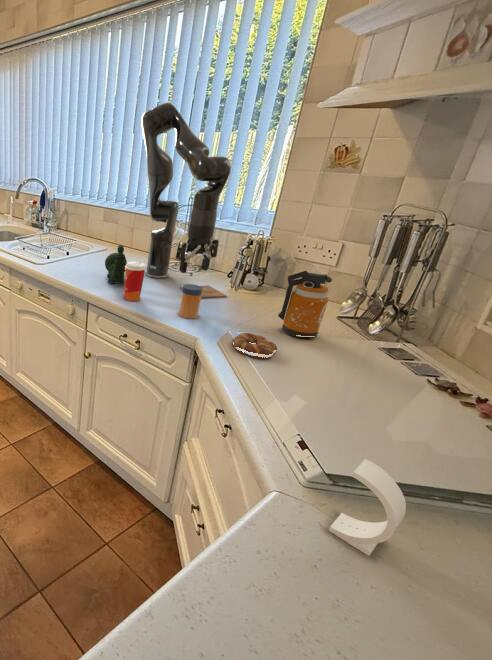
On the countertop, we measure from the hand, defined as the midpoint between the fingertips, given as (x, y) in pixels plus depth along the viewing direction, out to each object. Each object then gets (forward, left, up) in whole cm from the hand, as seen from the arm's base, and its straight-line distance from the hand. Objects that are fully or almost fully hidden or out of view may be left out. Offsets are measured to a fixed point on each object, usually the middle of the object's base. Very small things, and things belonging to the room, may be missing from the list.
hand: (193, 271), depth 132 cm
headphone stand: (+85, -4, -16) cm, 87 cm away
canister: (+13, +29, -16) cm, 35 cm away
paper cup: (-15, -15, -16) cm, 27 cm away
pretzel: (+25, +10, -16) cm, 31 cm away
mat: (-23, +15, -16) cm, 32 cm away
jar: (0, +1, -16) cm, 16 cm away
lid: (0, 0, -6) cm, 6 cm away
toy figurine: (-37, -17, -16) cm, 44 cm away
